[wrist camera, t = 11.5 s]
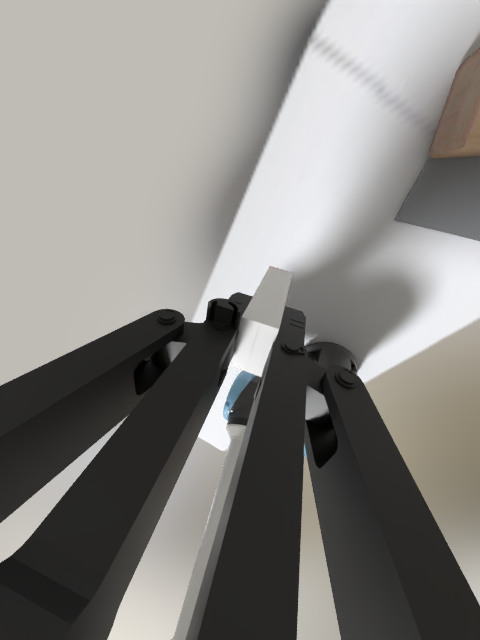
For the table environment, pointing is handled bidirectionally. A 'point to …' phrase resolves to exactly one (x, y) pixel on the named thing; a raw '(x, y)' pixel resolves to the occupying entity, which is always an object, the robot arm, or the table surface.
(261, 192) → the table surface
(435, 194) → the mat
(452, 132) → the wooden block
